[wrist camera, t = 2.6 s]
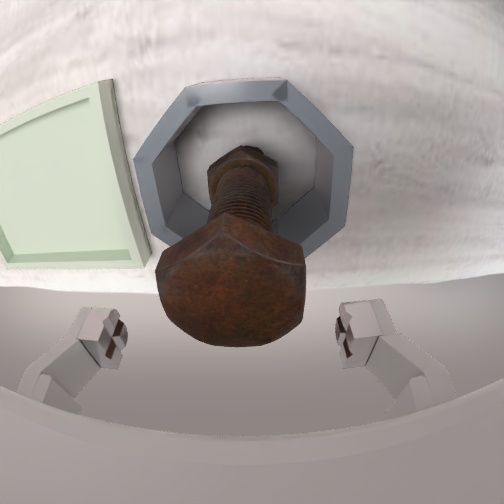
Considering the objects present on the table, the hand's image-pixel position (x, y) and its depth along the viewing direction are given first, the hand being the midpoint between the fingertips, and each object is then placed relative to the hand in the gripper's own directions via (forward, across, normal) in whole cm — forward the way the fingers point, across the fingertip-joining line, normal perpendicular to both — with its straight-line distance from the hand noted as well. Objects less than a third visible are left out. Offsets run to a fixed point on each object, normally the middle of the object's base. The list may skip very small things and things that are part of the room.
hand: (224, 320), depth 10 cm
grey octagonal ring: (+15, -1, -1) cm, 15 cm away
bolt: (+15, -1, -1) cm, 15 cm away
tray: (+16, +20, -1) cm, 26 cm away
